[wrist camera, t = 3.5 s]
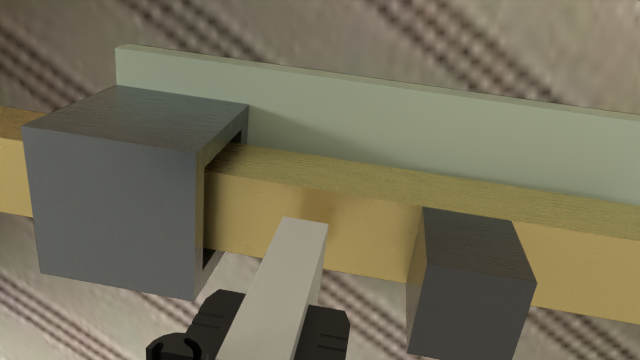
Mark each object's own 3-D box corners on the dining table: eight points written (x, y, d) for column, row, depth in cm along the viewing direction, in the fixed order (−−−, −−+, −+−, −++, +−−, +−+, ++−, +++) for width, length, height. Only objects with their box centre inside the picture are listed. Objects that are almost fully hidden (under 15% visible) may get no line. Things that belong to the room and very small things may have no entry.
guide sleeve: (122, 202, 25) (40, 272, 19) (116, 84, 23) (20, 125, 17) (242, 222, 24) (194, 301, 19) (249, 104, 22) (195, 153, 16)
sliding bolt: (-17, 169, 24) (-170, 244, 17) (-29, 101, 22) (-198, 156, 16) (612, 275, 21) (702, 409, 15) (641, 206, 20) (752, 320, 13)
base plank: (136, 220, 27) (124, 231, 26) (128, 43, 23) (114, 47, 22) (819, 338, 24) (839, 356, 22) (934, 156, 20) (966, 167, 19)
